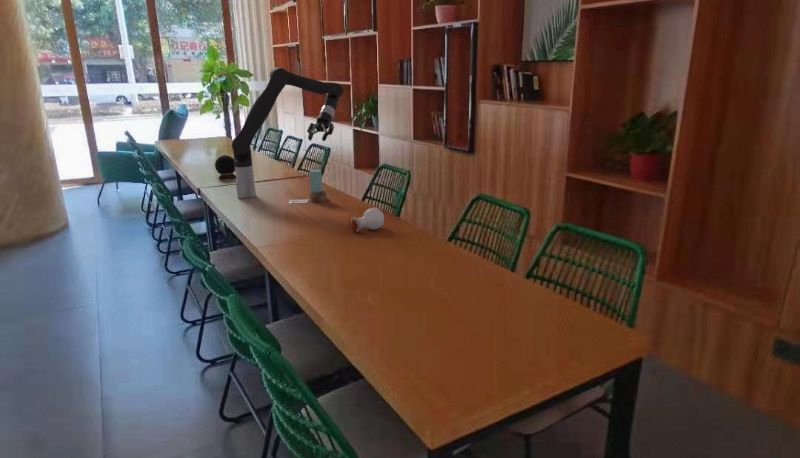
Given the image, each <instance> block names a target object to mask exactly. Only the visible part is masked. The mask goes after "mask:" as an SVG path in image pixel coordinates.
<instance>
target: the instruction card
mask: <svg viewBox="0 0 800 458" xmlns="http://www.w3.org/2000/svg"><path fill="white" fill-rule="evenodd" d="M309 201H310V198H308V199H290V200H289V201H288V202H287V204H289V205H291V204H292V203H295V204H308V202H309Z"/></svg>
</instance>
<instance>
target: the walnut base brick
mask: <svg viewBox="0 0 800 458" xmlns="http://www.w3.org/2000/svg"><path fill="white" fill-rule="evenodd" d="M322 189H323V190H322V191H321V192H320V193H316V192H311V189H310V190H308V196H309V198H308V199H309V201H310V202H311V203H312V204H313V203H322V202H323V203H324V202H327V201H328V200H327V192H326V189H324V188H322Z"/></svg>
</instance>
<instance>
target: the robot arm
mask: <svg viewBox="0 0 800 458" xmlns="http://www.w3.org/2000/svg"><path fill="white" fill-rule="evenodd" d="M269 77H270V79H269V81H268V83H267V85H266V87H265V89H264V90H263V91H262V93H260V95H259V96H258V97H257V98H256V100H255V101H254V102H253V104H252V106H251V108H250V110H249V112H248V114H247V116H246V119H245V121H244V124H243V126H242V128H241V130H240V131H239V132H238V134H237V135H236V136H235V137H234V138H233V140H232V142H231V149H232V151H233V159H234V164H235V171H234V172H235V176H236V178H235V179H236V180H235V188H236V194H237V195H236V196H237V198H238V199H251V198H254V197H256V196H257V194H256V192H257V191H256V184H255V178H254V177H255V176H254V169H253V158H252V157H253V156H252V150H251V145H252V142H253V141H254V138H255V137H256V134H257V133H258V131H259V130H260V128H261V127H262V126H263V125H264V123H265V121H266V120H267V118H268V116H270V115H269V114H270V113H271V111H272V110H273V107H274V105H275V103H276V101H277V99H278V97H279V95H280V93H282V91H283V89H284V88H285V86H292V87H296V88H299V89H302V90H304V91H306V92H310V93H313V94H315V95H316V94H317V95H321V96H322V95H323V96H324V95H325V94H326V97H325V101H324V103H323V105H322V107H321V109H320V112H319V113H318V116H317V117H316V118H317V119H316V123H313V122H311V123H310V124H309V126H308V128H307V130H306V132H307V133H308V136H307V139H308V141H309V142H311V141H312V139H313V137H314V135H316V134H317V133H321V132H322V133H323V135H322V137H321V140H322V141H323V142H326V141H327V138H328V136H329V135H330V136H332V135H333V132H334V129H335V125H334V123H333V122H332V121H333V119H334V117H335V112H336V111H337V107H338V102H339V100H340V98H341V97H342V95H343V94H344V92H345V91H344V87H343V85H341V84H340V83H338V82H337V83H336V82H328V81H327V82H325V81H321V80H317V79H314V78H310V77H306V76H303V75H298V74H295V73H293V72H291V71H288V70H287V69H285V68H284V67H280V66H276V67H274V68H272V69H271V70H270V73H269Z"/></svg>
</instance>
